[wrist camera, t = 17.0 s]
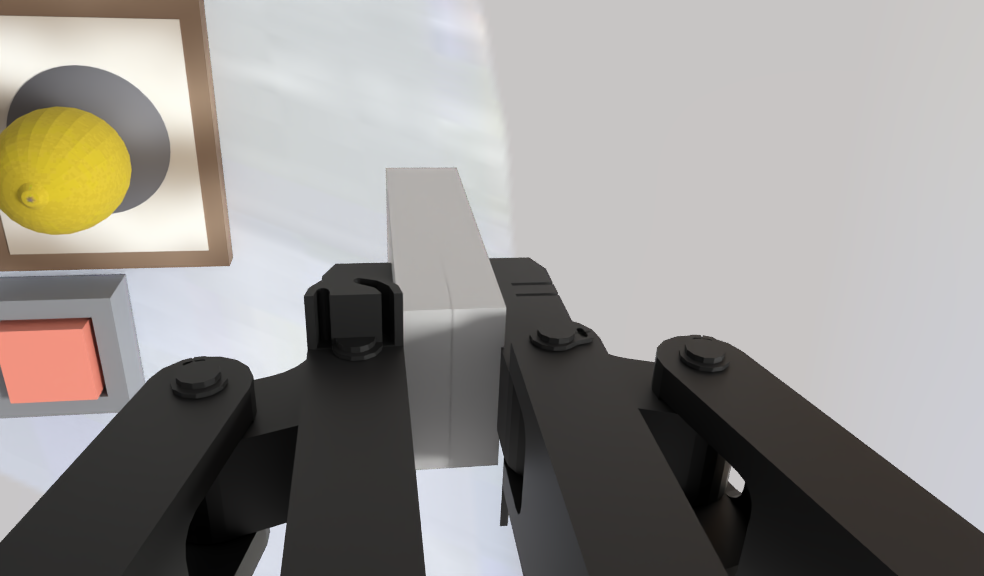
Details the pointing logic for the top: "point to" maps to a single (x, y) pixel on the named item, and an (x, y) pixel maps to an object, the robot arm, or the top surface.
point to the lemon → (61, 170)
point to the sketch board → (123, 127)
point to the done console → (111, 326)
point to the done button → (50, 360)
